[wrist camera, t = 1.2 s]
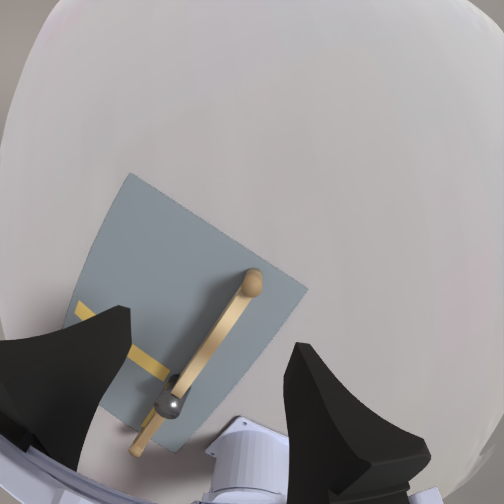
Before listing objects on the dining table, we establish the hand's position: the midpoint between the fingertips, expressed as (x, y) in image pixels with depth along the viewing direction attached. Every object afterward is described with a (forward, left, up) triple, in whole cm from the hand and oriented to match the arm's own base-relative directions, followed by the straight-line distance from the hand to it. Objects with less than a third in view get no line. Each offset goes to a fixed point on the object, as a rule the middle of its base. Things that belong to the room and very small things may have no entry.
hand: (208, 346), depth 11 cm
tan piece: (-1, +4, -12) cm, 13 cm away
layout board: (+4, +10, -13) cm, 17 cm away
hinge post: (-1, +12, -13) cm, 18 cm away
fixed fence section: (-1, +18, -12) cm, 22 cm away
